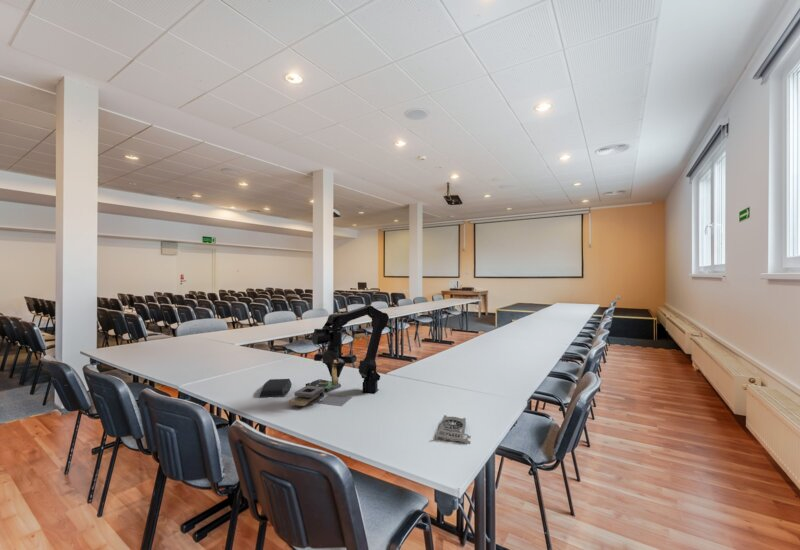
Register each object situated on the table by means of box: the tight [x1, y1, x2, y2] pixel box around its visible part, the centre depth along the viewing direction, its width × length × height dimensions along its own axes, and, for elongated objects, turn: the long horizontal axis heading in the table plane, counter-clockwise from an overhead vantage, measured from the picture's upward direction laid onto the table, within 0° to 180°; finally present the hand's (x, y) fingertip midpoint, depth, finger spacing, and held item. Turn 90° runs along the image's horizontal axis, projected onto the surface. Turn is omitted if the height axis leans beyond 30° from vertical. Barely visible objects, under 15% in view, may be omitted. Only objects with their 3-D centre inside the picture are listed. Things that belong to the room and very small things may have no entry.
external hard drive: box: [258, 378, 293, 399], centre depth 169 cm, size 13×19×4 cm
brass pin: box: [331, 361, 339, 386], centre depth 155 cm, size 3×3×10 cm
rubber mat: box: [316, 394, 353, 407], centre depth 155 cm, size 12×12×1 cm
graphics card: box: [435, 414, 472, 444], centre depth 125 cm, size 17×4×12 cm
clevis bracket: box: [288, 385, 325, 407], centre depth 153 cm, size 16×9×5 cm, turn 164°
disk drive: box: [305, 378, 342, 393], centre depth 174 cm, size 10×3×15 cm
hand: (335, 376), depth 155 cm, fingers closed on brass pin, 3 cm apart
